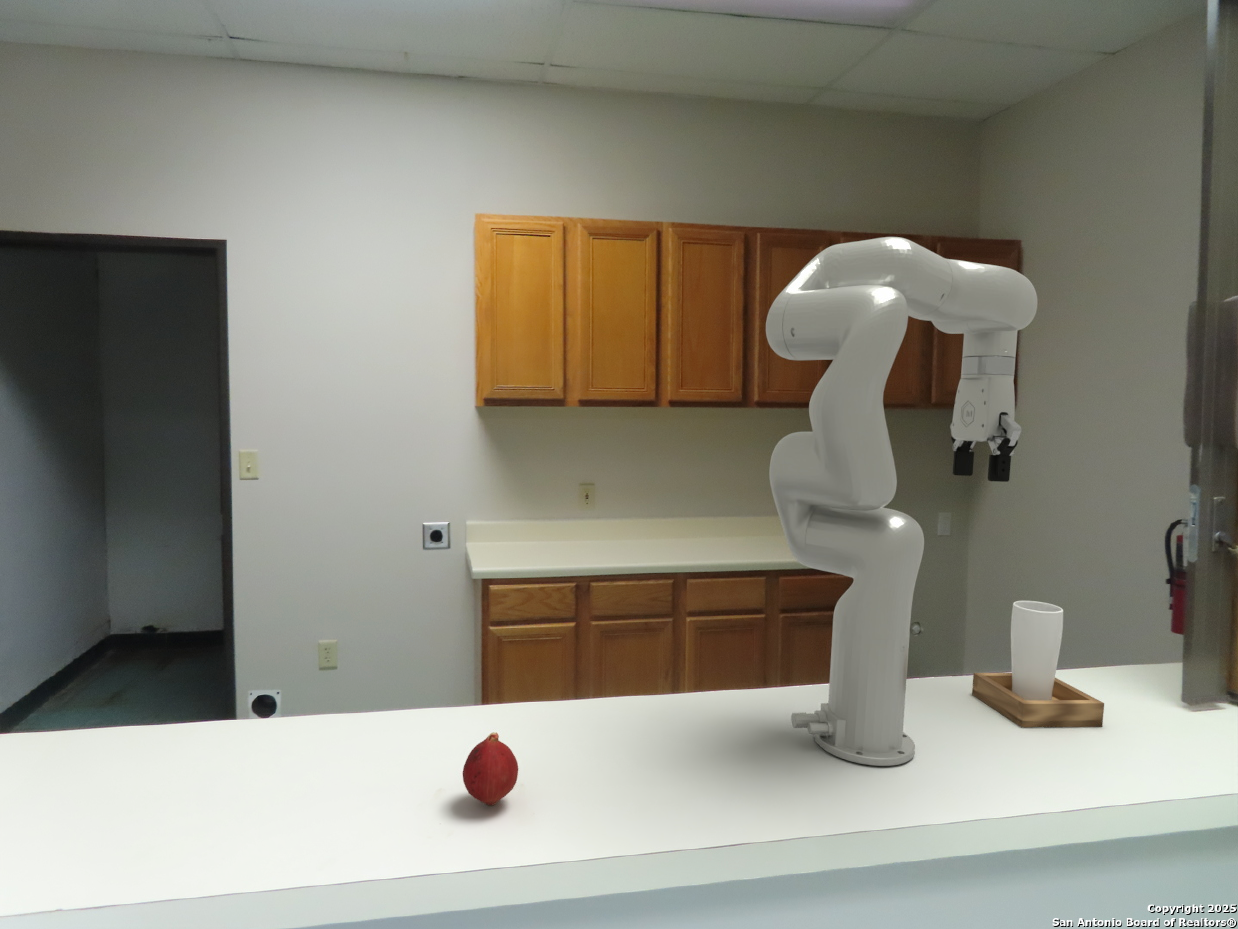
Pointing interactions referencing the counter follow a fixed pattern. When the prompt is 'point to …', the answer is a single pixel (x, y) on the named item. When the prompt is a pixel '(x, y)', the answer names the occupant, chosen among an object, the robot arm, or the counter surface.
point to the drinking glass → (1035, 648)
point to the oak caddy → (1038, 703)
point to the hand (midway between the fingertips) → (979, 478)
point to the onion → (490, 770)
